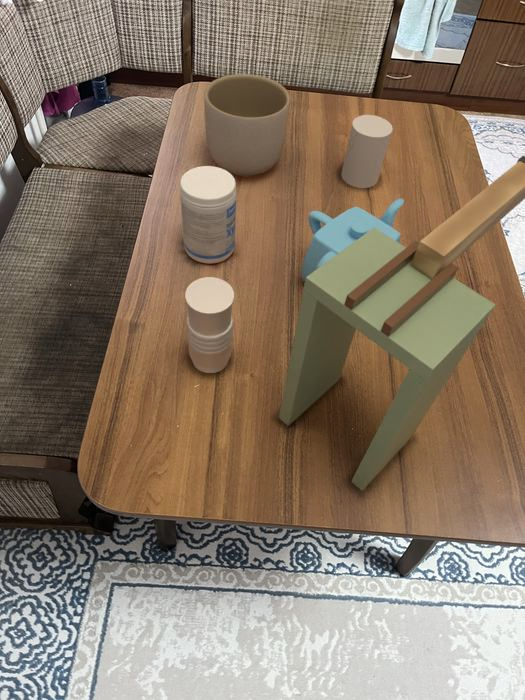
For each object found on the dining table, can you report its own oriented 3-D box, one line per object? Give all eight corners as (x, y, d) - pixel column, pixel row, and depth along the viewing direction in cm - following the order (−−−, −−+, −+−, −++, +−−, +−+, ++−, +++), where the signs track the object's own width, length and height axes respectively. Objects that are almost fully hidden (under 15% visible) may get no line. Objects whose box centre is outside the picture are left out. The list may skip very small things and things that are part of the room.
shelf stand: (411, 437, 79) (502, 294, 54) (362, 491, 74) (438, 360, 48) (329, 372, 85) (377, 216, 60) (278, 417, 80) (307, 266, 54)
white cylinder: (350, 161, 120) (362, 110, 111) (383, 174, 118) (398, 123, 109) (335, 179, 116) (345, 127, 106) (368, 192, 114) (383, 142, 104)
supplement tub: (238, 263, 98) (241, 197, 87) (187, 268, 97) (183, 202, 85) (229, 228, 104) (231, 162, 92) (180, 232, 102) (176, 166, 90)
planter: (290, 149, 121) (298, 83, 109) (272, 193, 111) (279, 126, 99) (218, 134, 123) (218, 67, 111) (194, 176, 113) (192, 108, 101)
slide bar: (533, 193, 67) (548, 167, 64) (434, 282, 57) (446, 256, 54) (509, 181, 69) (523, 155, 66) (408, 265, 58) (418, 238, 55)
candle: (241, 359, 86) (245, 296, 74) (207, 383, 82) (206, 322, 70) (213, 333, 88) (213, 269, 76) (180, 355, 85) (174, 292, 73)
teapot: (391, 322, 93) (414, 267, 82) (297, 311, 92) (309, 254, 82) (385, 250, 103) (405, 193, 93) (301, 241, 103) (312, 182, 93)
